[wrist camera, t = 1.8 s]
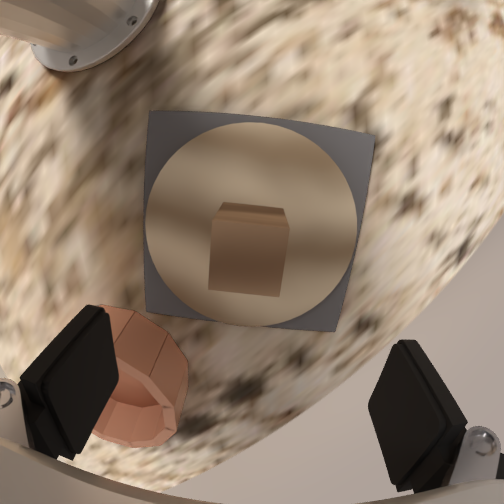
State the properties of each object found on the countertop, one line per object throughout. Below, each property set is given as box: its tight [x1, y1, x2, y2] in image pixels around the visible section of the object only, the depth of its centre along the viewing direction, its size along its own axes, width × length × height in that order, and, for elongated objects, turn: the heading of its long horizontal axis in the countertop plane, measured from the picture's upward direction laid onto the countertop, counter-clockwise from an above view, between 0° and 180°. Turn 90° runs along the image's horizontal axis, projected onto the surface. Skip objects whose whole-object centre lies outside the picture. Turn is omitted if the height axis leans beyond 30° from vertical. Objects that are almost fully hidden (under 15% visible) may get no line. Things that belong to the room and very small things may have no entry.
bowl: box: [92, 305, 188, 448], centre depth 25 cm, size 13×13×6 cm
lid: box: [145, 122, 357, 327], centre depth 19 cm, size 15×15×6 cm
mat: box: [144, 111, 375, 332], centre depth 22 cm, size 16×16×1 cm
